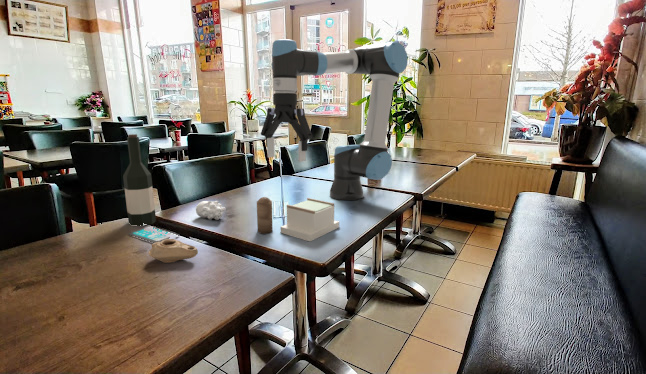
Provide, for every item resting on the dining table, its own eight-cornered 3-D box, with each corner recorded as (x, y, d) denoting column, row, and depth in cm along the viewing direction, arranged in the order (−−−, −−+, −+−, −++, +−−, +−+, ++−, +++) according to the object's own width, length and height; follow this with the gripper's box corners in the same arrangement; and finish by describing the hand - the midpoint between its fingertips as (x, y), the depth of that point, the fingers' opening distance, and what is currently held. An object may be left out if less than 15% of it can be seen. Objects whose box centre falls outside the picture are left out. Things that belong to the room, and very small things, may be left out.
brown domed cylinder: (265, 227, 116) (264, 194, 113) (275, 230, 113) (274, 196, 111) (254, 231, 112) (253, 197, 110) (265, 234, 110) (264, 200, 107)
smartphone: (156, 243, 100) (126, 233, 108) (157, 246, 101) (126, 236, 108) (182, 234, 108) (151, 225, 115) (182, 237, 108) (152, 228, 115)
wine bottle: (161, 220, 122) (152, 134, 115) (142, 227, 114) (131, 136, 107) (142, 217, 125) (133, 133, 118) (123, 224, 117) (111, 135, 110)
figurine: (209, 205, 131) (233, 208, 125) (201, 221, 128) (225, 225, 122) (197, 196, 125) (222, 198, 120) (188, 212, 122) (213, 216, 117)
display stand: (311, 219, 124) (311, 196, 122) (339, 227, 117) (339, 202, 115) (280, 232, 112) (280, 206, 110) (309, 241, 105) (310, 213, 103)
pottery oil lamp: (189, 268, 86) (172, 247, 83) (156, 275, 91) (138, 255, 88) (206, 244, 93) (191, 224, 90) (175, 251, 98) (159, 233, 95)
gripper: (248, 92, 114) (251, 156, 119) (309, 91, 100) (309, 164, 105) (265, 93, 120) (266, 154, 125) (324, 92, 106) (323, 161, 111)
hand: (286, 159), depth 115 cm, fingers open, 13 cm apart
